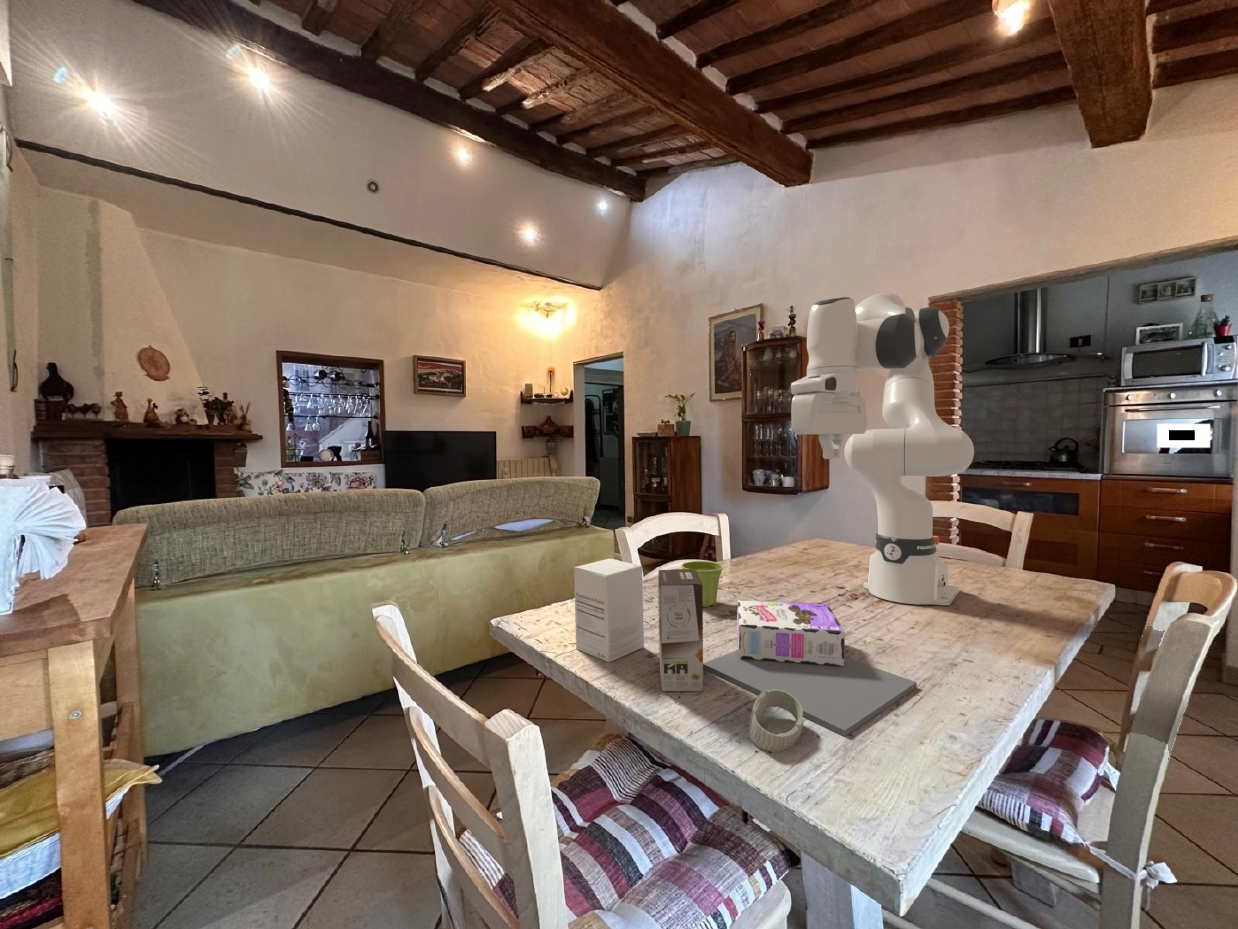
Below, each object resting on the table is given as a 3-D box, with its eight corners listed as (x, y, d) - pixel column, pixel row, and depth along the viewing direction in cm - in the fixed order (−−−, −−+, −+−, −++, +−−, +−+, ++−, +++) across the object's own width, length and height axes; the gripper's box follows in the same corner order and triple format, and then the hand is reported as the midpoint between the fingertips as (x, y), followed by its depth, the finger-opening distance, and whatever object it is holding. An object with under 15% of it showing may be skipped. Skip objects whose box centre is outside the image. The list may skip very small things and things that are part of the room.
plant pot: (681, 596, 119) (681, 560, 119) (722, 597, 118) (721, 561, 118) (681, 609, 110) (680, 570, 110) (724, 610, 109) (724, 571, 108)
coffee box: (704, 692, 74) (704, 584, 73) (661, 692, 74) (659, 584, 73) (697, 664, 83) (696, 568, 82) (658, 664, 83) (657, 568, 82)
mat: (777, 638, 93) (777, 633, 93) (916, 687, 74) (916, 682, 74) (702, 668, 81) (702, 663, 81) (844, 736, 62) (844, 730, 62)
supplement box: (610, 634, 96) (609, 557, 96) (645, 647, 90) (644, 565, 89) (574, 648, 90) (572, 566, 89) (608, 664, 84) (607, 575, 83)
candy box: (846, 631, 79) (738, 625, 82) (845, 668, 79) (738, 660, 83) (828, 602, 92) (736, 598, 96) (828, 634, 93) (736, 628, 96)
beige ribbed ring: (764, 711, 69) (764, 675, 68) (812, 725, 65) (812, 687, 65) (738, 744, 61) (738, 704, 61) (790, 762, 58) (790, 720, 57)
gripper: (844, 389, 103) (844, 456, 104) (784, 383, 91) (785, 460, 92) (875, 386, 98) (875, 457, 99) (816, 380, 86) (816, 460, 87)
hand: (831, 458), depth 95 cm, fingers closed
